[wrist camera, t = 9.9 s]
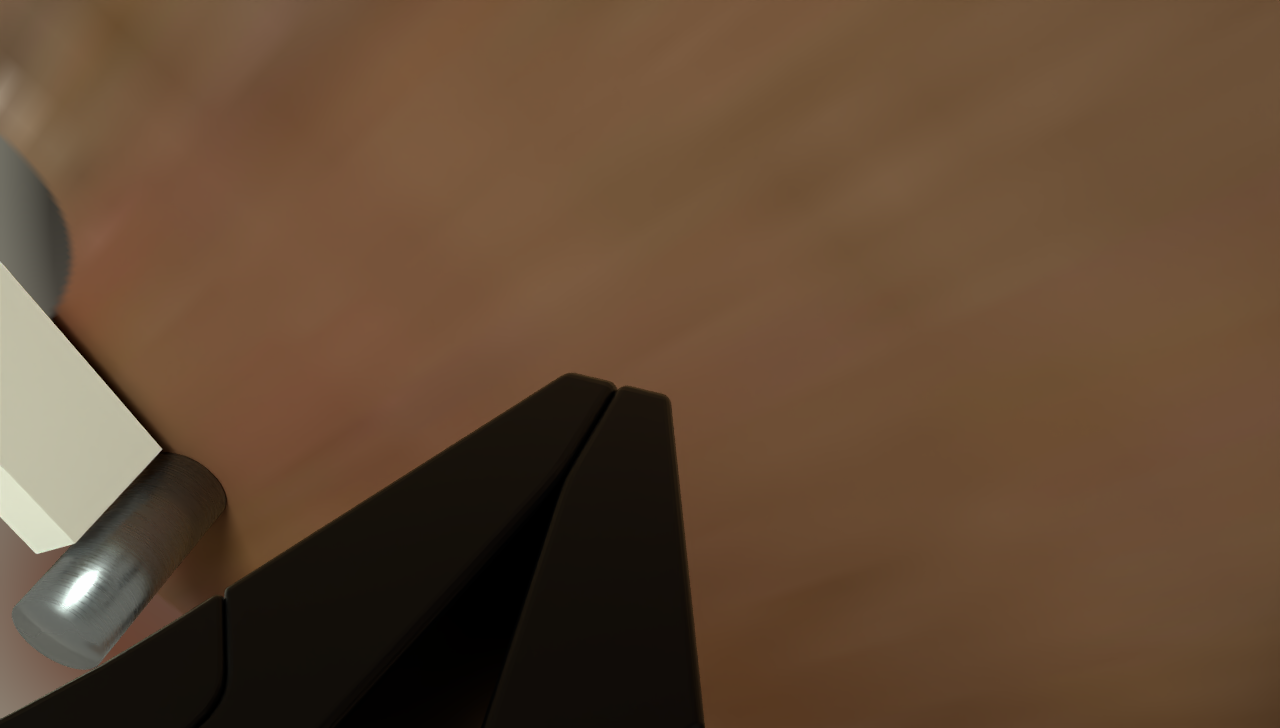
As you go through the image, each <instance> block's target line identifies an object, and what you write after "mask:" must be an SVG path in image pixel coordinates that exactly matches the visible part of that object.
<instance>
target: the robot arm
mask: <svg viewBox="0 0 1280 728" xmlns="http://www.w3.org/2000/svg"><path fill="white" fill-rule="evenodd" d="M0 728H705V723H704V713H703V704H702V694H701V685H700V675H699V666H698V656H697V647H696V637H695V628H694V618H693V608H692V599H691V589H690V580H689V570H688V561H687V551H686V542H685V532H684V523H683V513H682V504H681V494H680V484H679V475H678V465H677V456H676V446H675V437H674V427H673V418H672V408H671V402H670V400H669V398H668V397H667V396H666V395H664V394H661V393H657V392H653V391H648V390H644V389H640V388H636V387H632V386H623V387H621V388H619V389H618V390H617V387H616V386H615V385H614V384H613V383H612V382H610V381H606V380H602V379H598V378H594V377H590V376H585V375H581V374H577V373H568V374H564V375H562V376H560V377H559V378H557V379H556V380H554V381H552V382H551V383H549V384H548V385H546V386H545V387H543V388H541V389H540V390H538V391H537V392H535V393H534V394H532V395H530V396H529V397H527V398H526V399H524V400H522V401H521V402H519V403H518V404H516V405H515V406H513V407H511V408H510V409H508V410H507V411H505V412H504V413H502V414H500V415H499V416H497V417H496V418H494V419H493V420H491V421H489V422H488V423H486V424H485V425H483V426H481V427H480V428H478V429H477V430H475V431H474V432H472V433H470V434H469V435H467V436H466V437H464V438H463V439H461V440H459V441H458V442H456V443H455V444H453V445H452V446H450V447H448V448H447V449H445V450H444V451H442V452H440V453H439V454H437V455H436V456H434V457H433V458H431V459H429V460H428V461H426V462H425V463H423V464H422V465H420V466H418V467H417V468H415V469H414V470H412V471H410V472H409V473H407V474H406V475H404V476H403V477H401V478H399V479H398V480H396V481H395V482H393V483H392V484H390V485H388V486H387V487H385V488H384V489H382V490H381V491H379V492H377V493H376V494H374V495H373V496H371V497H369V498H368V499H366V500H365V501H363V502H362V503H360V504H358V505H357V506H355V507H354V508H352V509H351V510H349V511H347V512H346V513H344V514H343V515H341V516H339V517H338V518H336V519H335V520H333V521H332V522H330V523H328V524H327V525H325V526H324V527H322V528H321V529H319V530H317V531H316V532H314V533H313V534H311V535H310V536H308V537H306V538H305V539H303V540H302V541H300V542H298V543H297V544H295V545H294V546H292V547H291V548H289V549H287V550H286V551H284V552H283V553H281V554H280V555H278V556H276V557H275V558H273V559H272V560H270V561H268V562H267V563H265V564H264V565H262V566H261V567H259V568H257V569H256V570H254V571H253V572H251V573H250V574H248V575H246V576H245V577H243V578H242V579H240V580H239V581H237V582H235V583H234V584H232V585H231V586H229V587H228V588H227V589H226V590H225V594H224V598H223V597H222V596H221V595H214V596H213V597H211V598H209V599H208V600H206V601H205V602H203V603H201V604H200V605H198V606H197V607H195V608H194V609H192V610H190V611H189V612H187V613H186V614H184V615H183V616H181V617H179V618H178V619H176V620H175V621H173V622H171V623H170V624H168V625H166V626H165V627H163V628H162V629H160V630H158V631H157V632H155V633H153V634H152V635H150V636H148V637H147V638H145V639H143V640H142V641H140V642H138V643H137V644H135V645H133V646H132V647H130V648H129V649H127V650H125V651H123V652H122V653H120V654H118V655H117V656H115V657H113V658H112V659H110V660H108V661H107V662H105V663H103V664H102V665H100V666H98V667H96V668H94V669H92V670H91V671H89V672H87V673H85V674H83V675H81V676H80V677H78V678H76V679H74V680H72V681H70V682H69V683H67V684H65V685H63V686H61V687H59V688H58V689H56V690H54V691H52V692H50V693H48V694H46V695H45V696H43V697H41V698H39V699H37V700H35V701H34V702H32V703H30V704H28V705H26V706H24V707H23V708H21V709H19V710H17V711H15V712H13V713H11V714H9V715H7V716H5V717H3V718H1V719H0Z"/></svg>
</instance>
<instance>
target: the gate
mask: <svg viewBox="0 0 1280 728" xmlns="http://www.w3.org/2000/svg"><path fill="white" fill-rule="evenodd" d="M161 450H162V448H161V447H160V446H159V445H158V444H157V442H156V441H155V440H154V439H153V438H152V437H151V435H150V434H149V433H148V432H147V431H146V430H145V429H144V427H143V426H142V425H141V424H140V423H139V422H138V420H137V419H136V418H135V417H134V416H133V415H132V413H131V412H130V411H129V410H128V409H127V408H126V406H125V405H124V404H123V403H122V402H121V401H120V400H119V398H118V397H117V396H116V395H115V394H114V393H113V391H112V390H111V389H110V388H109V387H108V386H107V384H106V383H105V382H104V381H103V380H102V379H101V377H100V376H99V375H98V374H97V373H96V372H95V370H94V369H93V368H92V367H91V366H90V365H89V364H88V362H87V361H86V360H85V359H84V358H83V357H82V355H81V354H80V353H79V352H78V351H77V350H76V348H75V347H74V346H73V345H72V344H71V343H70V341H69V340H68V339H67V338H66V337H65V336H64V334H63V333H62V332H61V331H60V330H59V329H58V328H57V326H56V325H55V324H54V323H53V322H52V321H51V319H50V318H49V317H48V316H47V315H46V314H45V312H44V311H43V310H42V309H41V308H40V307H39V306H38V304H37V303H36V302H35V301H34V300H33V299H32V297H31V296H30V295H29V294H28V293H27V292H26V290H25V289H24V288H23V287H22V286H21V285H20V283H19V282H18V281H17V280H16V279H15V278H14V277H13V276H12V274H11V273H10V272H9V271H8V270H7V268H6V267H5V266H4V265H3V264H2V263H1V261H0V517H1V518H2V519H3V520H4V521H5V522H6V523H7V524H8V525H9V527H10V528H11V529H12V530H13V531H15V533H16V534H17V535H18V536H19V537H20V538H21V539H22V540H23V541H24V542H25V543H26V544H27V545H28V546H29V547H30V548H31V549H32V550H33V551H34V552H35V553H36V554H39V553H42V552H46V551H50V550H53V549H57V548H61V547H64V546H68V545H71V544H75V543H76V542H77V541H78V540H79V539H80V538H81V537H82V536H83V534H84V533H85V532H86V531H87V530H88V529H89V528H90V527H91V526H92V525H93V524H94V523H95V522H96V520H97V519H98V518H99V517H100V516H101V515H102V514H103V513H104V512H105V511H106V510H107V509H108V507H109V506H110V505H111V504H112V503H113V502H114V501H115V500H116V499H117V498H118V497H119V496H120V495H121V493H122V492H123V491H124V490H125V489H126V488H127V487H128V486H129V485H130V484H131V483H132V482H133V481H134V479H135V478H136V477H137V476H138V475H139V474H140V473H141V472H142V471H143V470H144V469H145V468H146V466H147V465H148V464H149V463H150V462H151V461H152V460H153V459H154V458H155V457H156V456H157V455H158V454H159V452H160V451H161Z"/></svg>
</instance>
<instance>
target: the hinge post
mask: <svg viewBox="0 0 1280 728" xmlns="http://www.w3.org/2000/svg"><path fill="white" fill-rule="evenodd" d="M225 505H226V497H225V493H224V491H223V488H222V486H221V485H220V483H219V482H218V480H217V479H216V478H215V477H214V476H213V475H212V474H211V473H210V472H209V471H208V470H207V469H206V468H205V467H203V466H202V465H201V464H199V463H197V462H196V461H194V460H192V459H190V458H188V457H185V456H182V455H179V454H174V453H162V454H159V455H157V456H156V457H155V458H154V459H153V460H152V461H151V462H150V463H149V464H148V465H147V466H146V468H145V469H144V470H143V471H142V472H141V473H140V474H139V475H138V476H137V477H136V478H135V479H134V481H133V482H132V483H131V484H130V485H129V486H128V487H127V488H126V489H125V490H124V491H123V492H122V493H121V495H120V496H119V497H118V498H117V499H116V500H115V501H114V502H113V503H112V504H111V505H110V506H109V507H108V509H107V510H106V511H105V512H104V513H103V514H102V515H101V516H100V517H99V518H98V519H97V520H96V522H95V523H94V524H93V525H92V526H91V527H90V528H89V529H88V530H87V531H86V532H85V533H84V534H83V536H82V537H81V538H80V539H79V540H78V541H77V542H76V543H75V544H72V545H71V546H70V547H69V549H68V550H67V551H66V552H65V553H64V554H63V555H62V556H61V557H60V558H59V559H58V560H57V561H56V563H55V564H54V565H53V566H52V567H51V568H50V569H49V570H48V571H47V572H46V573H45V574H44V575H43V577H42V578H41V579H40V580H39V581H38V582H37V583H36V584H35V585H34V586H33V587H32V588H31V589H30V591H29V592H28V593H27V594H26V595H25V596H24V597H23V598H22V599H21V600H20V601H19V602H18V603H17V605H16V606H15V607H14V608H13V611H12V619H13V622H14V625H15V627H16V629H17V630H18V632H19V633H20V634H21V636H22V637H23V638H24V639H25V640H26V641H27V642H28V643H29V644H30V645H31V646H32V647H34V648H35V649H36V650H37V651H38V652H40V653H41V654H43V655H44V656H46V657H48V658H49V659H51V660H53V661H55V662H57V663H60V664H62V665H64V666H67V667H71V668H75V669H92V668H94V667H96V666H98V665H99V663H100V662H101V661H102V660H103V659H104V657H105V656H106V655H107V653H108V652H109V651H110V650H111V649H112V647H113V646H114V645H115V644H116V642H117V641H118V640H119V639H120V638H121V636H122V635H123V634H124V633H125V631H126V630H127V629H128V627H129V626H130V625H131V624H132V622H133V621H134V620H135V619H136V618H137V617H138V615H139V614H140V613H141V611H142V610H143V609H144V608H145V607H146V605H147V604H148V603H149V602H150V600H151V599H152V598H153V597H154V595H155V594H156V593H157V592H158V591H159V589H160V588H161V587H162V586H163V584H164V583H165V582H166V581H167V579H168V578H169V577H170V576H171V575H172V573H173V572H174V571H175V570H176V568H177V567H178V566H179V565H180V563H181V562H182V561H183V560H184V559H185V557H186V556H187V555H188V554H189V552H190V551H191V550H192V549H193V547H194V546H195V545H196V544H197V542H198V541H199V540H200V539H201V538H202V536H203V535H204V534H205V533H206V531H207V530H208V529H209V528H210V526H211V525H212V524H213V523H214V521H215V520H216V519H217V518H218V517H219V515H220V514H221V513H222V512H223V510H224V508H225Z"/></svg>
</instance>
